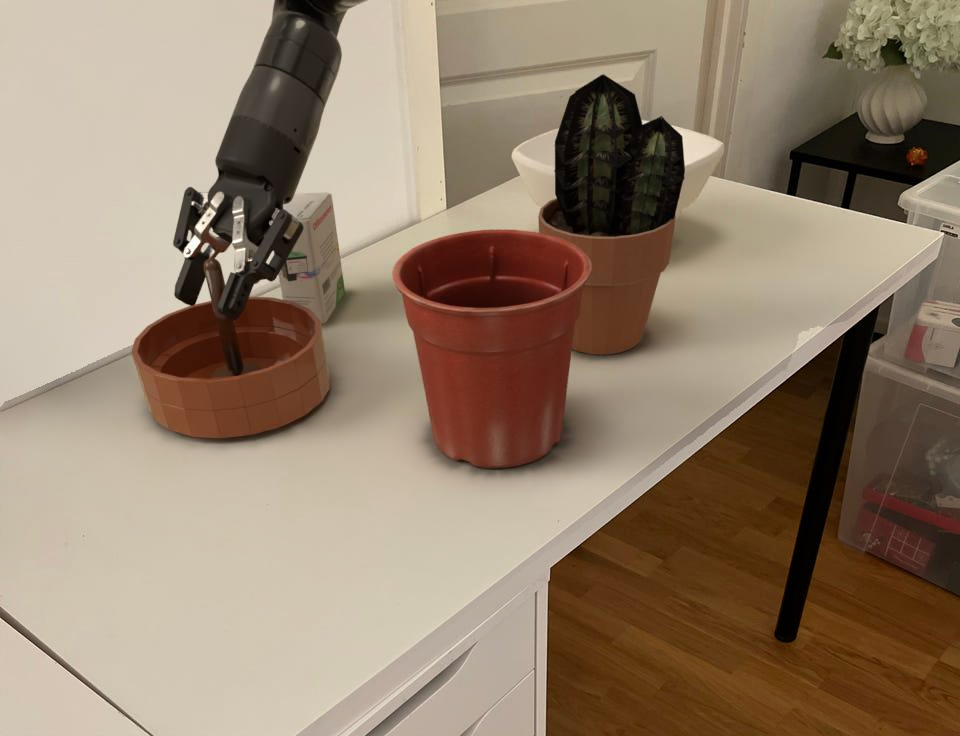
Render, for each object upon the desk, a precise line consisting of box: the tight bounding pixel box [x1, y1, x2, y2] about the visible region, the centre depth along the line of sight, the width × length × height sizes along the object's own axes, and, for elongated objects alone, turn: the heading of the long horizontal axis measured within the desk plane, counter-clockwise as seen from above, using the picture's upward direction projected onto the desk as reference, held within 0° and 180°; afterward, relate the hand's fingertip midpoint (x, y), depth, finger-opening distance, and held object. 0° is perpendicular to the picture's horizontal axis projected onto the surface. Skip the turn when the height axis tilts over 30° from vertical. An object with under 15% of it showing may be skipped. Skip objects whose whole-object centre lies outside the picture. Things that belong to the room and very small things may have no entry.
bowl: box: [511, 119, 725, 223], centre depth 120 cm, size 22×22×12 cm
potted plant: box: [537, 73, 685, 356], centre depth 97 cm, size 14×14×25 cm
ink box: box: [277, 192, 346, 325], centre depth 110 cm, size 8×5×12 cm, turn 170°
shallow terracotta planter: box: [130, 296, 331, 439], centre depth 97 cm, size 18×18×6 cm
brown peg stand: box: [203, 258, 262, 379], centre depth 94 cm, size 5×5×13 cm
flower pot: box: [391, 228, 591, 469], centre depth 86 cm, size 16×16×16 cm
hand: (205, 308), depth 91 cm, fingers open, 5 cm apart
